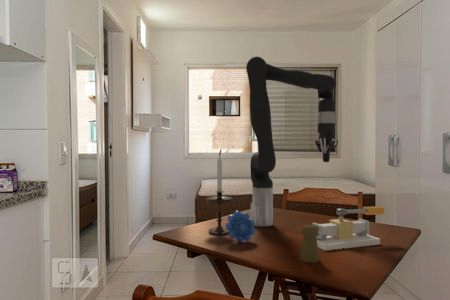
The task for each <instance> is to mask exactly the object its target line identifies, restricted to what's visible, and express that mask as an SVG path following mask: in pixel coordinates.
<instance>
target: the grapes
mask: <svg viewBox="0 0 450 300" xmlns="http://www.w3.org/2000/svg"><path fill="white" fill-rule="evenodd" d="M227 221H228V222H226V223H225V228H227V229H228V230H230V231H229V234H228V235H229V237H230V238H231V239H236V242H238V243H242V242H244V241H246V242H250V241H251V240H252V236H254V235H256V228H254V225H255V222H254V220H253V219H251V218H250V214H249V213H248V212H243V213H242V212H241V211H239V210H235V211H234V213H233V214H229V215H228V216H227Z"/></svg>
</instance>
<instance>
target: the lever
mask: <svg viewBox="0 0 450 300" xmlns="http://www.w3.org/2000/svg"><path fill="white" fill-rule="evenodd" d="M346 214H364V215H367V216H369V215H370V216H373V215H375V216H376V215H384V214H385V207H383V206H379V205H378V206H363V207H362V208H359V209H358V208H357V209H346V208H341V207H340V208H336V215H337V216H339V215H343V216H346Z"/></svg>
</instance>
